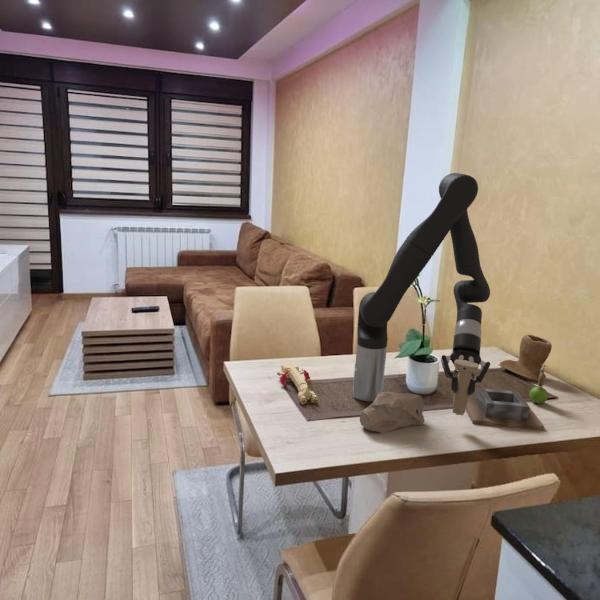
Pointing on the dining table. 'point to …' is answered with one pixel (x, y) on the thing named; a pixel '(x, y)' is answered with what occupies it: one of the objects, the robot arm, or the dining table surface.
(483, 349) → the dining table surface
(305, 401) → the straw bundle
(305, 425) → the dining table surface
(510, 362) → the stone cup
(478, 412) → the socket block
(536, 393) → the green ball on stick
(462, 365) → the handle
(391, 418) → the decorative stone
